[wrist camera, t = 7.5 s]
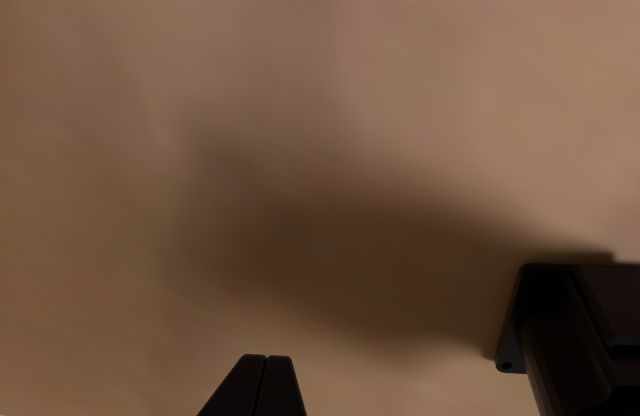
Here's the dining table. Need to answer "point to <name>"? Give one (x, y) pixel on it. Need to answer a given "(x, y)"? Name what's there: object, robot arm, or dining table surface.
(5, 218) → the dining table surface
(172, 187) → the dining table surface
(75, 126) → the dining table surface
